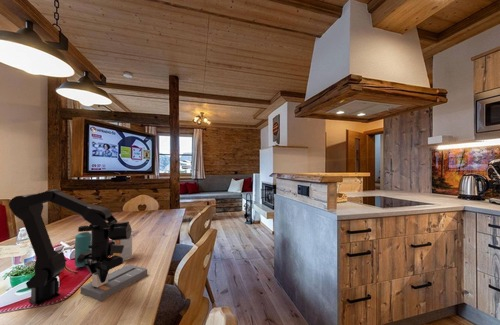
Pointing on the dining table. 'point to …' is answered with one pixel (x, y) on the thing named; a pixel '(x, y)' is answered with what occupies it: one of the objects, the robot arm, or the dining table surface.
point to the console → (114, 282)
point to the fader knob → (97, 280)
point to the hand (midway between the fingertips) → (100, 281)
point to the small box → (125, 248)
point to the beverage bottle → (82, 244)
